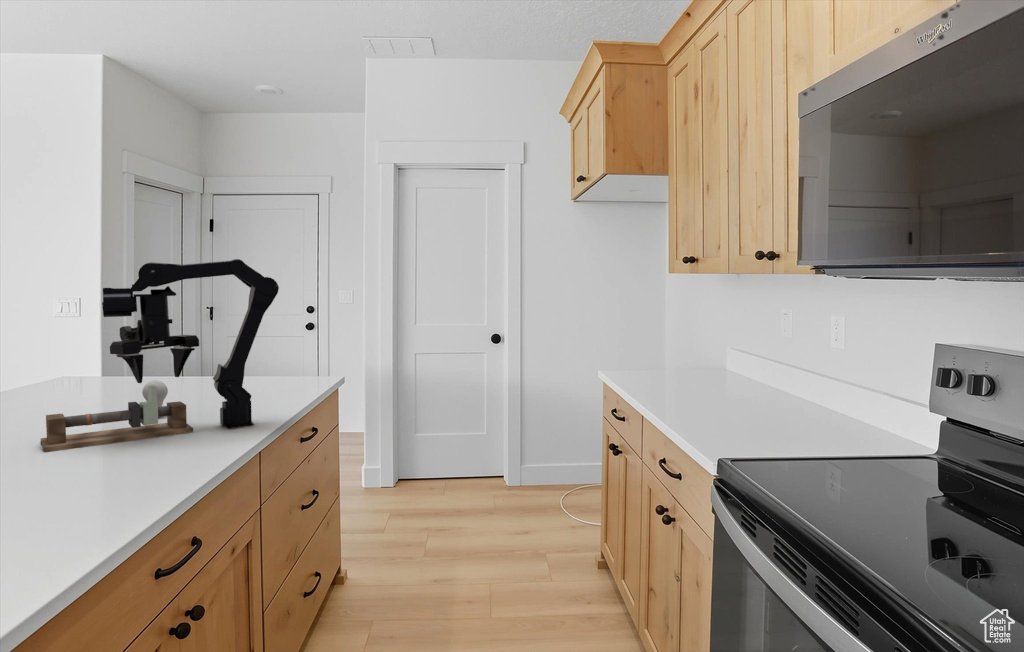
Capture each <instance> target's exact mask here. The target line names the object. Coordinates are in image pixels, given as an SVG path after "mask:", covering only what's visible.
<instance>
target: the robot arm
mask: <svg viewBox="0 0 1024 652" xmlns="http://www.w3.org/2000/svg"><path fill="white" fill-rule="evenodd" d="M137 274H138V279H136V281H135V282H134V283H133V284H132V283H131V287H124V288H114V287H113V288H112V287H102V303H101V305H102V314H103V315H102V316H103V318H117V317H118V318H119V317H120V318H121V317H132V314H133V313H137V312H138V303H137V297H138V298H139V306H140V319H137V323H136V324H137V325H136V327H132V326H130V325H127V326H126V325H123V326H121V327H120V328H119V337H120V340H119V341H112V342H111V344H110V346H109V354H110V355H116V357H117V358H122V360H123V361H125V363H127V365H128V367H129V369H130V370H131V372H132V375H133V376H134V379H135V380H136V382H137V384H142V382H143V375H144V354H140V353H141V351H143V350H151V349H162V348H169V349H170V352H171V354H172V355H173V360H172V361H173V373H174V377H175V378H179V377H180V375H181V373H182V372H183V369H184V367H185V365H186V363H187V361H188V359H189V357H190V355H191V354H192V352H193V351H195V350H196V348H197V347H200V339H199V338H198V336H197V335H196V334H195V335H194V334H192V335H191V334H179V335H178V334H177V335H170V334H171V333H170V331H171V330H170V324H173V318H170V315H169V302H168V301H169V300H168V298H169V297H175V296H177V293H176V292H175V291H173V290H172V289H171V287H170V286H169V285H168V284H172V283H175V282H179V281H183V280H192V279H200V278H201V279H202V278H212V277H221V276H222V277H223V276H235V278H237V279H238V280H239V281H241V282H242V283H243V284H244V285H246V286H247V287H248V288H249V295H248V302H247V303H248V306H247V310H246V313H245V315H244V318H243V321H242V324H241V326H240V329H239V330H238V334H237V336H236V338H235V341H234V344H233V347H232V350H231V353H230V355H229V357H228V358H227V361H226V362H225V364H224V365H222V364H220V363H219V364H217V367H216V372H215V375H214V376H213V377H212V380H213V381H214V382H213V386H214V389H215V390H216V392H217V393H218V394H219V395H220V396H221V397H223V399H224V400H225V401H222V402H221V403H222V405H221V407H220V409H219V422H220V424H219V425H221V426H223V427H224V428H226V429H235V428H243V427H248V426H254V425H255V423H254V422H253V421H252V400H251V399H252V394H251V393H249V392H248V390H247V389H245V388H244V387H243V384H244V378H245V367H246V362H247V359H248V358H249V355H250V352H251V349H252V347H253V345H254V341H255V338H256V336H257V333H258V331H259V328H260V325H261V323H262V321H263V317H264V316H265V313H266V311H267V310H268V309H269V308H270V306H271V305H272V304H273V302H274V300H275V298H276V297H277V295H278V294H279V290H280V289H279V288H280V287H279V284H278V282H277V281H276V280H275V279H273V278H272V277H269V276H267V277H266V276H263V275H262V274H261V273H259V272H258V271H257V270H255V269H253V268H252V267H251V266H249V265H248V264H246V262H244V261H243V260H241V259H239V258H237V259H236V258H235V259H231V260H222V261H211V262H199V263H188V264H187V263H186V264H177V263H168V262H167V263H166V262H147V263H144V264H143V265H142V266H141V267H140V268H139V270H138V273H137ZM165 285H167V286H166V287H165V288H163V289H162V288H161V289H154V288H157V287H160V286H165ZM153 287H154V288H153ZM147 288H153V289H150V293H142V294H141V293H140V294H136V293H135V294H134V292H142V291H144V290H146V289H147ZM171 347H172V348H171Z"/></svg>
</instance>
